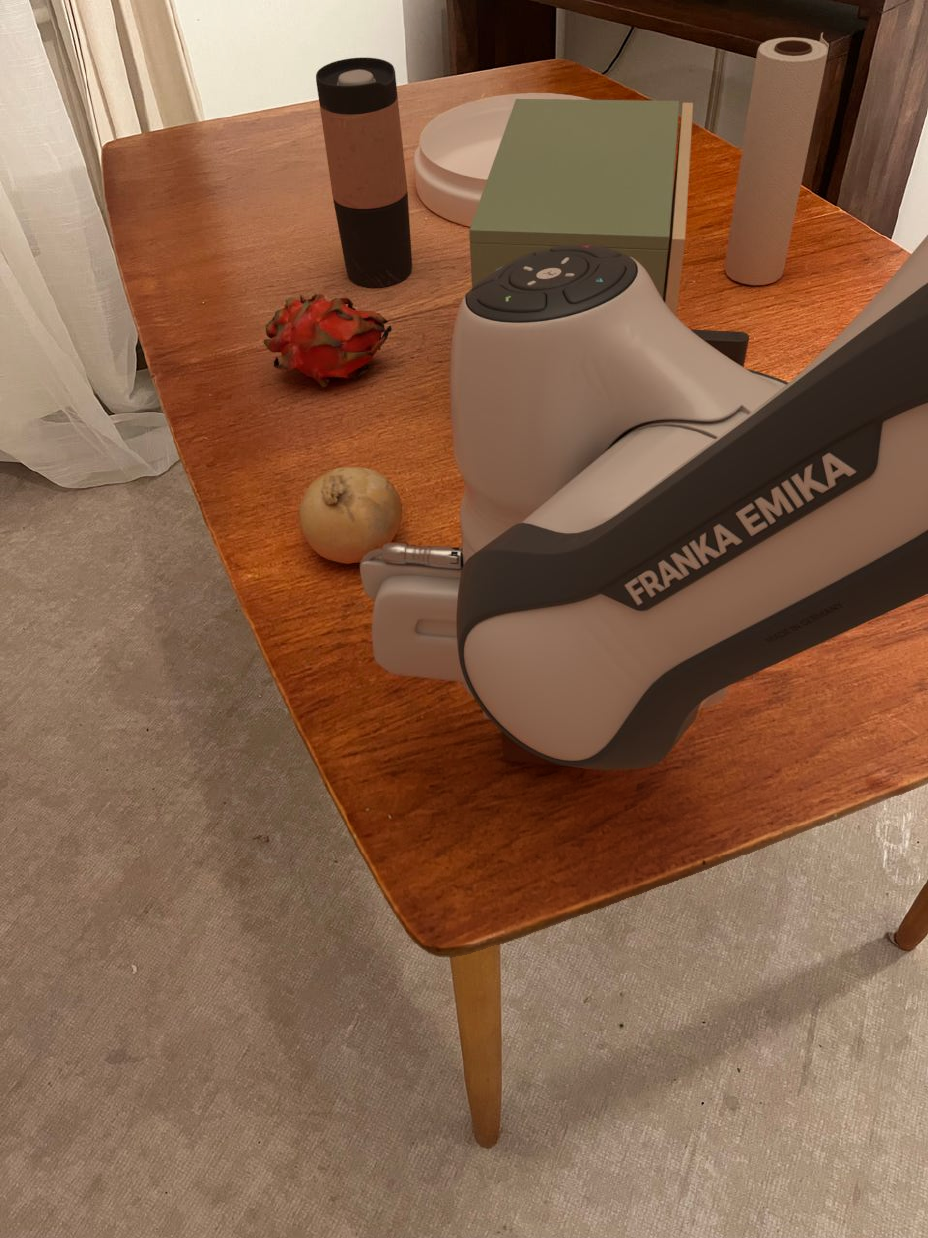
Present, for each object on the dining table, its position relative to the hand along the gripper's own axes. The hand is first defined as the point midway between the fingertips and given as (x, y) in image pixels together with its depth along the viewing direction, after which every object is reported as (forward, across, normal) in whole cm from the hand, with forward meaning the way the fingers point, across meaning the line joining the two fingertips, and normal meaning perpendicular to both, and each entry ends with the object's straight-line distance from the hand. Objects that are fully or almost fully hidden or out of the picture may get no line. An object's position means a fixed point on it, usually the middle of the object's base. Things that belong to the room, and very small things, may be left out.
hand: (548, 717), depth 61 cm
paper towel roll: (+4, +14, +63) cm, 64 cm away
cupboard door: (+4, +8, +42) cm, 43 cm away
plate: (+4, -13, +82) cm, 83 cm away
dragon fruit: (+4, -26, +40) cm, 48 cm away
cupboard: (+4, -3, +42) cm, 42 cm away
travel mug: (+4, -26, +59) cm, 65 cm away
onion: (+4, -18, +17) cm, 25 cm away
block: (+2, 0, 0) cm, 2 cm away
